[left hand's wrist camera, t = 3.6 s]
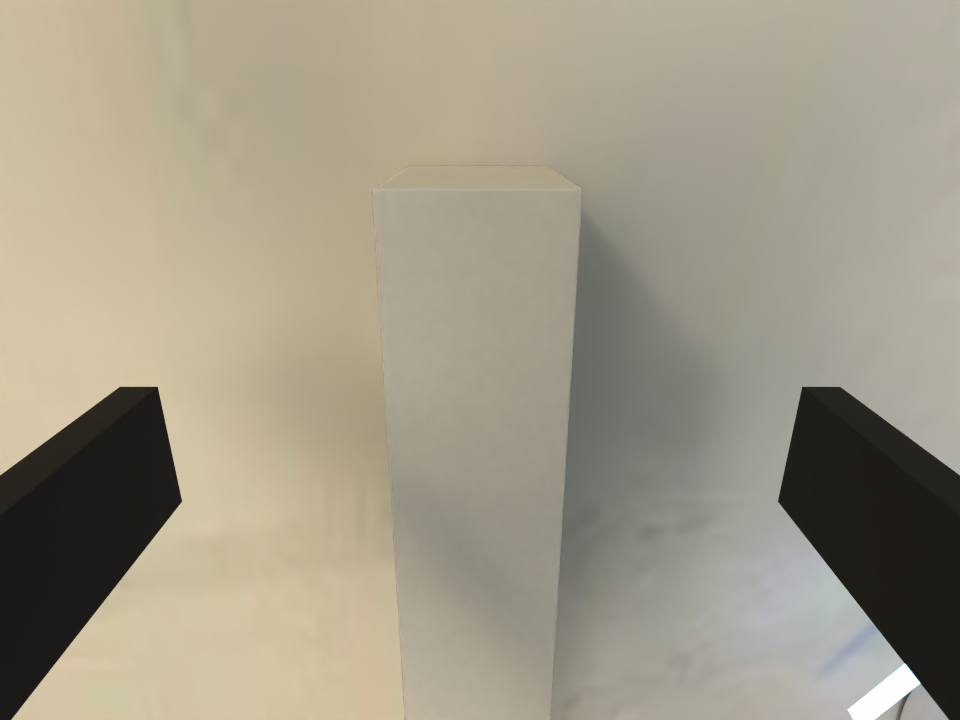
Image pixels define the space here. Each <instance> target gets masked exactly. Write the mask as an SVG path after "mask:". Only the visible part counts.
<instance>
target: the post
mask: <svg viewBox="0 0 960 720" xmlns="http://www.w3.org/2000/svg"><path fill="white" fill-rule="evenodd" d="M372 203H373V219H374V235H375V251H376V267H377V283H378V299H379V315H380V331H381V347H382V363H383V379H384V395H385V411H386V427H387V443H388V459H389V475H390V491H391V507H392V523H393V539H394V555H395V571H396V587H397V603H398V619H399V634H400V650H401V666H402V682H403V698H404V714H405V720H550V719H551V702H552V686H553V669H554V653H555V636H556V620H557V603H558V587H559V570H560V554H561V537H562V521H563V504H564V488H565V471H566V455H567V438H568V422H569V406H570V389H571V373H572V356H573V340H574V323H575V307H576V290H577V274H578V257H579V241H580V224H581V208H582V189H581V188H580V187H578V186H577V185H575V184H574V183H572V182H571V181H569V180H568V179H567V178H565V177H564V176H562V175H561V174H559V173H558V172H556V171H555V170H553V169H552V168H550V167H549V166H407V167H406V168H404V169H403V170H401V171H399V172H398V173H396V174H395V175H393V176H392V177H390V178H388V179H387V180H385V181H384V182H382V183H381V184H379V185H377V186H376V187H374V188H373V189H372Z"/></svg>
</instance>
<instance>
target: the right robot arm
mask: <svg viewBox="0 0 960 720" xmlns="http://www.w3.org/2000/svg"><path fill="white" fill-rule="evenodd" d="M911 690H912V691H911ZM910 691H911V693H910V695H909V696H908V698H907V700H906V702H905V705H904V707H903V710H902V713H901V716H900V720H949V719H948V718H947V717H946V715H945V714H944V713H943V712H942V710H941V709H940V708H939V706H938V705H937V704H936V703H935V701H934V700H933V699H932V697H931V696H930V695H929V694H928V692H927V691H926V690H925V689H924V687H923V686H922V685H921V683H920V682H919V681H918V680H917V678H916V677H915V676H914V674H913V673H912V672H911V671H910V669H909V668H908V667H907V666H906V664H904V665H903V666H901V667H900V668H899V669H898V670H896V671H895V672H894V673H893V674H892V675H890V676H889V677H888V678H887V679H885V680H884V681H883V682H882V683H880V684H879V685H878V686H877V687H875V688H874V689H873V690H872V691H870V692H869V693H868V694H867V695H866V696H864V697H863V698H862V699H861V700H859V701H858V702H857V703H856V704H854V705H853V706H852V707H851V708H849V709H848V711H849V713H850V714H851V716H852V717H853V719H854V720H874V719H876V718H877V717H878V716H879V715H881V714H882V713H883V712H884V711H886V710H887V709H888V708H889V707H891V706H892V705H893V704H895V703H896V702H897V701H898V700H900V699H901V698H902V697H903V696H905V695H906V694H907V693H909V692H910Z"/></svg>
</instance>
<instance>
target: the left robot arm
mask: <svg viewBox="0 0 960 720" xmlns="http://www.w3.org/2000/svg"><path fill="white" fill-rule="evenodd" d="M181 502H182V499H181V495H180V490H179V485H178V480H177V476H176V471H175V466H174V462H173V457H172V452H171V448H170V443H169V438H168V433H167V429H166V424H165V419H164V415H163V410H162V405H161V401H160V396H159V391H158V387H119V388H118V389H117V390H115V391H114V392H112V393H111V394H110V395H108V396H107V397H106V398H104V399H103V400H102V401H100V402H99V403H98V404H96V405H95V406H94V407H92V408H91V409H90V410H88V411H87V412H85V413H84V414H83V415H81V416H80V417H79V418H77V419H76V420H75V421H73V422H72V423H71V424H69V425H68V426H67V427H65V428H64V429H62V430H61V431H60V432H58V433H57V434H56V435H54V436H53V437H52V438H50V439H49V440H48V441H46V442H45V443H44V444H42V445H41V446H40V447H38V448H37V449H35V450H34V451H33V452H31V453H30V454H29V455H27V456H26V457H25V458H23V459H22V460H21V461H19V462H18V463H17V464H15V465H14V466H12V467H11V468H10V469H8V470H7V471H6V472H4V473H3V474H2V475H0V720H11V719H12V718H13V717H14V715H15V714H16V713H17V712H18V710H19V709H20V708H21V706H22V705H23V704H24V703H25V701H26V700H27V699H28V697H29V696H30V695H31V694H32V692H33V691H34V690H35V689H36V687H37V686H38V685H39V683H40V682H41V681H42V680H43V678H44V677H45V676H46V674H47V673H48V672H49V671H50V669H51V668H52V667H53V666H54V664H55V663H56V662H57V660H58V659H59V658H60V657H61V655H62V654H63V653H64V651H65V650H66V649H67V648H68V646H69V645H70V644H71V643H72V641H73V640H74V639H75V637H76V636H77V635H78V634H79V632H80V631H81V630H82V628H83V627H84V626H85V625H86V623H87V622H88V621H89V620H90V618H91V617H92V616H93V614H94V613H95V612H96V611H97V609H98V608H99V607H100V605H101V604H102V603H103V602H104V600H105V599H106V598H107V597H108V595H109V594H110V593H111V591H112V590H113V589H114V588H115V586H116V585H117V584H118V582H119V581H120V580H121V579H122V577H123V576H124V575H125V574H126V572H127V571H128V570H129V568H130V567H131V566H132V565H133V563H134V562H135V561H136V559H137V558H138V557H139V556H140V554H141V553H142V552H143V551H144V549H145V548H146V547H147V545H148V544H149V543H150V542H151V540H152V539H153V538H154V536H155V535H156V534H157V533H158V531H159V530H160V529H161V528H162V526H163V525H164V524H165V522H166V521H167V520H168V519H169V517H170V516H171V515H172V514H173V512H174V511H175V510H176V508H177V507H178V506H179V505H180V503H181ZM778 502H779V503H780V505H781V506H782V507H783V508H784V510H785V511H786V512H787V514H788V515H789V516H790V517H791V519H792V520H793V521H794V522H795V524H796V525H797V526H798V528H799V529H800V530H801V531H802V533H803V534H804V535H805V537H806V538H807V539H808V540H809V542H810V543H811V544H812V545H813V547H814V548H815V549H816V551H817V552H818V553H819V554H820V556H821V557H822V558H823V559H824V561H825V562H826V563H827V565H828V566H829V567H830V568H831V570H832V571H833V572H834V574H835V575H836V576H837V577H838V579H839V580H840V581H841V582H842V584H843V585H844V586H845V588H846V589H847V590H848V591H849V593H850V594H851V595H852V597H853V598H854V599H855V600H856V602H857V603H858V604H859V605H860V607H861V608H862V609H863V611H864V612H865V613H866V614H867V616H868V617H869V618H870V620H871V621H872V622H873V623H874V625H875V626H876V627H877V628H878V630H879V631H880V632H881V634H882V635H883V636H884V637H885V639H886V640H887V641H888V643H889V644H890V645H891V646H892V648H893V649H894V650H895V651H896V653H897V654H898V655H899V657H900V658H901V659H902V660H903V662H904V663H905V664H906V666H907V667H908V668H909V669H910V671H911V672H912V673H913V674H914V676H915V677H916V678H917V680H918V681H919V682H920V683H921V685H922V686H923V687H924V689H925V690H926V691H927V692H928V694H929V695H930V696H931V697H932V699H933V700H934V701H935V703H936V704H937V705H938V706H939V708H940V709H941V710H942V712H943V713H944V714H945V715H946V717H947V718H948V719H949V720H960V475H958V474H957V473H956V472H954V471H953V470H952V469H950V468H949V467H948V466H946V465H945V464H943V463H942V462H941V461H939V460H938V459H937V458H935V457H934V456H933V455H931V454H930V453H929V452H927V451H926V450H925V449H923V448H922V447H920V446H919V445H918V444H916V443H915V442H914V441H912V440H911V439H910V438H908V437H907V436H906V435H904V434H903V433H902V432H900V431H899V430H898V429H896V428H895V427H893V426H892V425H891V424H889V423H888V422H887V421H885V420H884V419H883V418H881V417H880V416H879V415H877V414H876V413H875V412H873V411H872V410H870V409H869V408H868V407H866V406H865V405H864V404H862V403H861V402H860V401H858V400H857V399H856V398H854V397H853V396H852V395H850V394H849V393H848V392H846V391H845V390H843V389H842V388H841V387H802V391H801V396H800V401H799V405H798V410H797V415H796V419H795V424H794V429H793V433H792V438H791V443H790V448H789V452H788V457H787V462H786V466H785V471H784V476H783V480H782V485H781V490H780V495H779V499H778Z"/></svg>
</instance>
